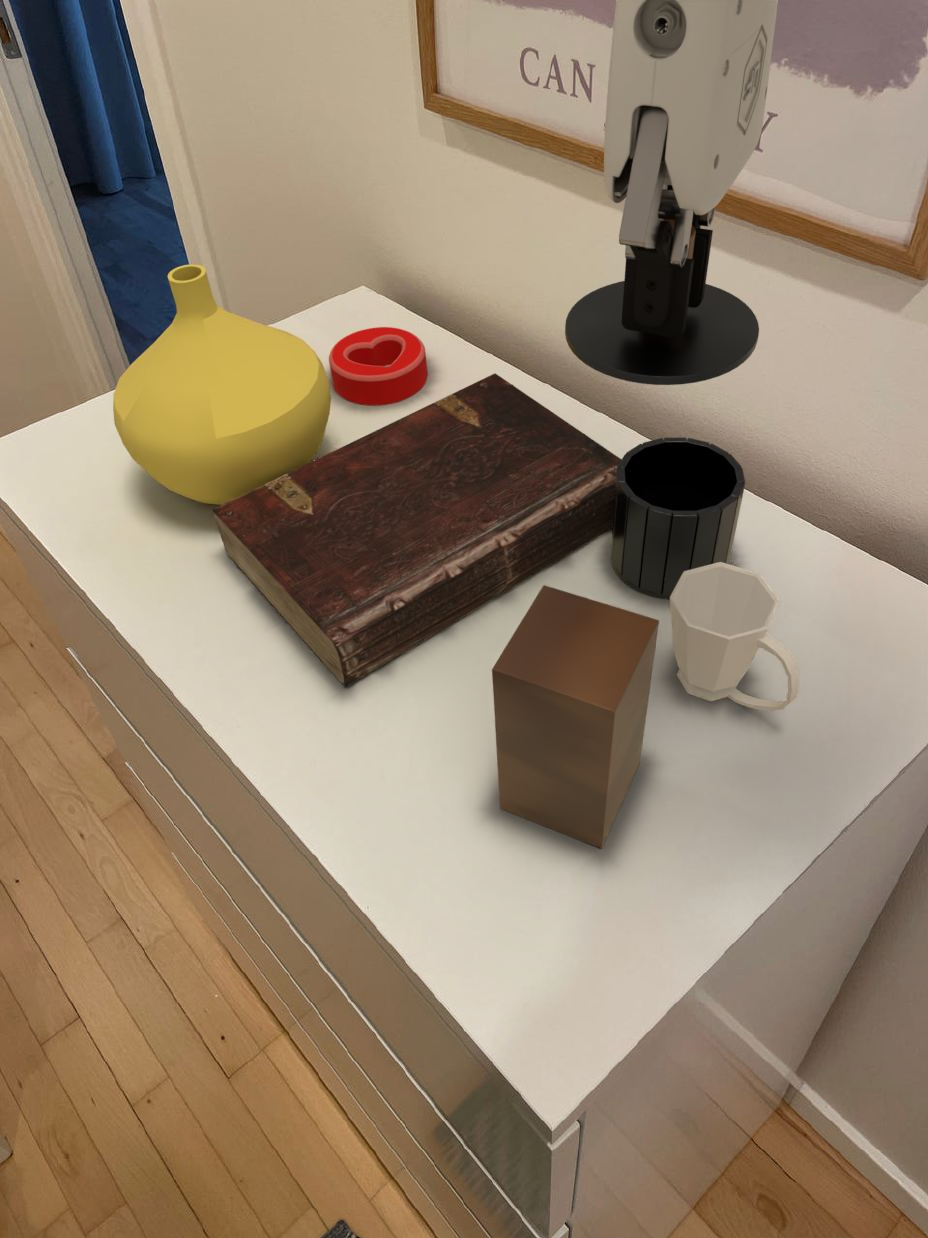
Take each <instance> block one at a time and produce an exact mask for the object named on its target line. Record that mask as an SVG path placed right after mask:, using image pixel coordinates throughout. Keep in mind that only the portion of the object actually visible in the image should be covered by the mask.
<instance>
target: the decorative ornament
mask: <svg viewBox="0 0 928 1238" xmlns="http://www.w3.org/2000/svg"><path fill="white" fill-rule="evenodd" d="M328 364H329V368H330V374H331V379H332V380H331V381H332V385H333V389H334V391H335V392H336V394H337V395H339V397H341V398H343V399H344V400H346V401H348V402H351V403H353V404H356V405H361V406H384V405H391V404H395V403H399V402H402V401H404V400H406V399H409V398H411V397H413V396H414V395H416V394H417V393H418V392H419V391H421V390H422V388H423V387H424V386H425V384H426V383H427V380H428V375H429V374H428V373H429V372H428V365H427V364H428V363H427V354H426V346H425V345H424V342H423V341H422V340H421V339H420V338H419V337H418V336H417V335H416V334H414V333H412V331H411V332H410V331H408V330H406V329H402V328H399V327H393V326H377V327H371V328H369V327H368V328H366V329H360V330H357V331H355V332H352V333H350V334H347V335H346V336H344V337H342V338H341V339H339V341H337V342H336V343H335V344H334V345H333V347H332V348H331V350H330V352H329V355H328ZM387 365H388V366H387Z"/></svg>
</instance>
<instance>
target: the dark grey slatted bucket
mask: <svg viewBox="0 0 928 1238" xmlns="http://www.w3.org/2000/svg"><path fill="white" fill-rule="evenodd" d="M621 459H622V460H621V461H620V463H619V465H618V466H617V470H616V484H615V497H614V510H613V524H612V528H611V539H610V562H611V563H610V564H611V565H612V568H613V570H614V572H615V574H616V575H617V577H618V578H619V579H620V580H621V581H622V582H623V583H624V584H625V585H627V586H628V587H629V588H631V589H633V590H634V591H636V592H638V593H640V594H643V595H646V596H648V597H652V598H657V599H661V600H662V599H663V600H670V596H671V594H672V592H673V590H674V589H675V587H676V585H677V583H678V581H679V579H680V577H681V576H682V574H683V572H684V571H687V570H691V569H695V568H699V567H703V566H706V565H710V564H714V563H718V562H723V563H726V564H729V565H730V560H731V556H732V550H733V545H734V541H735V535H736V532H737V525H738V521H739V517H740V516H739V515H740V511H741V508H742V507H741V506H742V501H743V497H744V491H745V486H746V479H745V474H744V469H743V466H742V465H741V464H740V462H738V461H737V459H736V458H735V457H734V456H733V455H732V454H731V453H730V452H728V451H727V450H725V449H723V448H721V447H719V446H717V445H715V444H713V443H710V442H709V441H704V440H700V439H696V438H691V437H688V438H687V436H686V437H683V436H682V437H679V436H678V437H677V436H675V437H660V438H656V439H652V440H648V441H644V442H642V443H639V444H637V445H636V446H635V447H633V448H631V449H630V450H628V451H627V452H625V453H624V455H623V457H622V458H621Z"/></svg>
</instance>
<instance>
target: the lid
mask: <svg viewBox="0 0 928 1238" xmlns="http://www.w3.org/2000/svg"><path fill="white" fill-rule="evenodd" d="M664 221H670V223H671V225H672V228H673V231H674V224H675V220H664ZM695 234H696V231H695V228H694V227H693V226H691V234H690V241H689V249H688V255H687V258H689V259H692V258H693V250H694V242H695ZM623 294H624V280H622V281H617V282H614V283H611V284H607V285H604V286H601V287H599V288H597V289H595V290H593V291H591V292H589V293H587V294H585V295H584V296H583V297H581V298H580V299H579V300H577V302H576V303H574V304H573V305H572V307H571V309H570V310H569V312H568V314H567V316H566V318H565V323H564V324H565V326H564V336H565V341H566V343H567V346H568V347H569V348H568V349H570V351H571V352H572V353H573V354H574V356H575V357H576V358H577V359H578V360H579V361H581V362H582V363H583V364H584V365H586V366H588V367H589V368H591V369H593V370H594V371H596V372H598V373H600V374H603V375H605V376H608V377H611V378H614V379H617V380H621V381H625V382H629V383H636V384H642V385H651V386H676V385H687V384H695V383H700V382H705V381H708V380H712V379H715V378H718V377H721V376H723V375H726V374H728V373H730V372H732V371H733V370H735V369H737V368H739V367H740V366H741V365H742V364H744V363H745V362H746V361H747V360H748V359H750V357H751V355H752V354H753V353H754V351H755V350H756V347H757V345H758V342H759V335H760V326H759V325H760V324H759V320H758V319H757V316H756V314H755V313H754V312H753V310H752V308H750V306H749V305H748V304H747V303H746V302H744V301H743V300H741V299H740V298H739V297H738V296H736V295H734V294H732V293H731V292H729V291H726V290H724V289H723V288H720V287H717V286H714V285H711V284H708V283H706V284H705V292H704V298H703V300H702V302H701V304H700V305H699V306H698V307H696V308H691V307H688V311H687V319H686V327H685V330H684V332H683V334H682V335H681V337H679V338H669V337H664V336H659V335H653V334H648V333H643V332H638V331H632V330H628V329H626V328H624V327H623V325H622V308H623Z"/></svg>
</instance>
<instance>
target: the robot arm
mask: <svg viewBox="0 0 928 1238" xmlns="http://www.w3.org/2000/svg"><path fill="white" fill-rule="evenodd" d="M778 4H779V0H615V10H614V17H613V18H614V19H613V28H612V36H611V37H612V38H611V47H610V57H609V69H608V82H607V93H606V106H605V107H606V108H605V122H604V145H603V147H604V148H603V150H604V151H603V180H604V181H603V183H604V190H605V192H606V195H607V196H608V198H609V199H610V200H611V201H612V202H613V203H615V204H620V203H622V202H623V201H624V205H623V206H624V207H623V211H622V217H621V221H620V228H619V233H618V243H619V244H620V245H623V246H625V248H624V249H625V250H624V256H625V267H624V268H625V269H624V279H623V281H624V294H623V308H622V325H623V327H624V328H626V329H628V330H632V331H638V332H643V333H648V334H653V335H659V336H664V337H669V338H679V337H681V335H682V334H683V332H684V330H685V327H686V319H687V311H688V307H691V308H696V307H698V306H699V305H700V304H701V302H702V300H703V298H704V292H705V284H707V276H708V268H709V262H710V255H711V246H712V239H713V234H714V233H713V232H714V230H713V229H709V228H710V227H711V225H712V223H713V221H714V217H715V213H716V206H718V204H719V203H720V202H721V201H722V200H723V199H724V197H725V196H726V194H727V192H728V191H729V190H730V188H731V187H732V185H733V184H734V182H735V181H736V179H737V178H738V176H739V175H740V173H741V172H742V170H743V169H744V167H745V166H746V164H747V162H748V161H749V159H750V158H751V157H752V155H753V154H754V152H755V150H756V147H757V146H758V144H759V141H760V138H761V134H762V130H763V126H764V125H763V124H764V119H765V112H766V111H765V110H766V101H767V94H768V86H769V78H770V71H771V63H772V54H773V46H774V37H775V30H776V22H777V13H778ZM664 220H675V224H674V231H673V228H672V225H671V223H670V221H664ZM691 226H693V227H694V228H695V231H696V234H695V242H694V250H693V258H692V259H689V258H687V255H688V249H689V241H690V234H691ZM702 227H707V228H708V229H707V228H702Z"/></svg>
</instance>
